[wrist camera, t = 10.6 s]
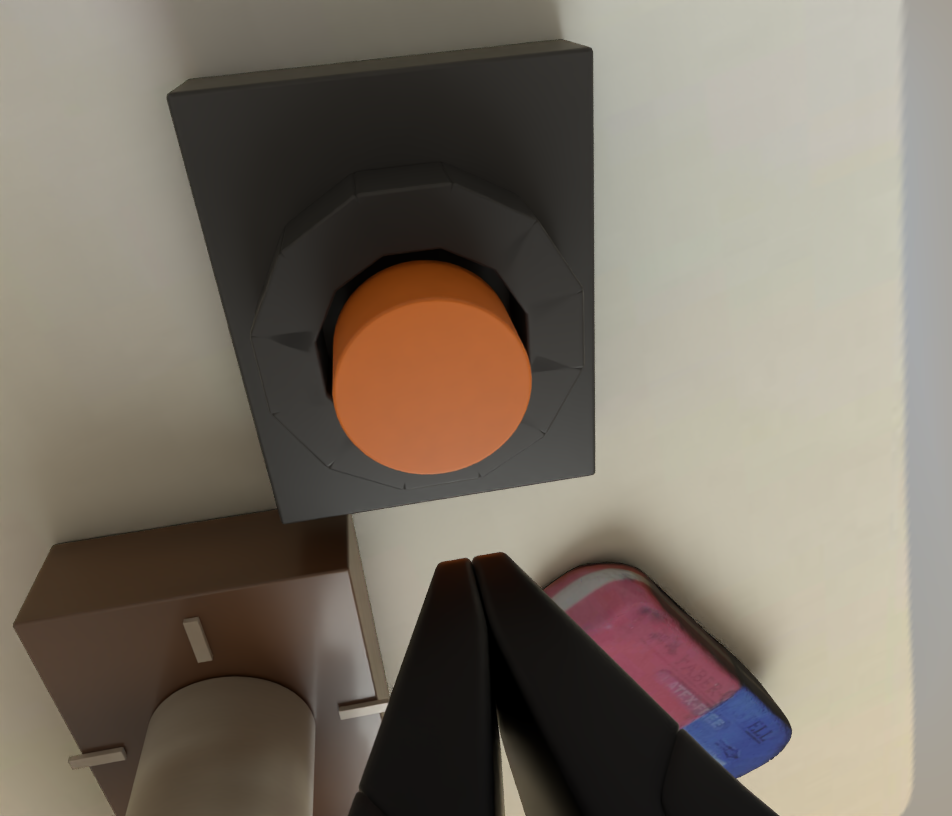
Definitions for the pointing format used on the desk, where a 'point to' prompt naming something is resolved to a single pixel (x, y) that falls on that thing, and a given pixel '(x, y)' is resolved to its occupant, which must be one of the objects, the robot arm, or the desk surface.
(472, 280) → the button
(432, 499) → the orange button panel
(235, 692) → the dial
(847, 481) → the desk surface
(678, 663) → the eraser
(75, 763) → the dial panel
